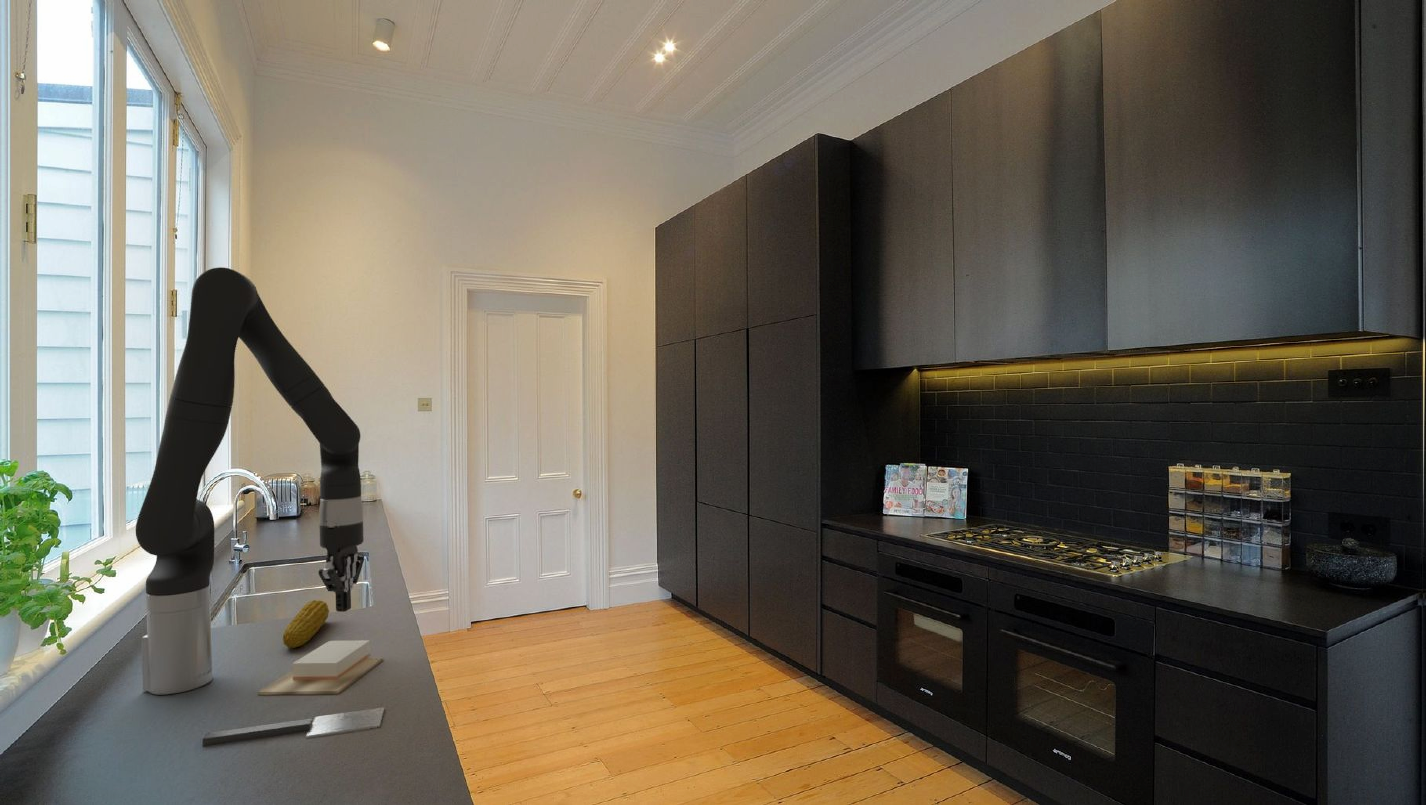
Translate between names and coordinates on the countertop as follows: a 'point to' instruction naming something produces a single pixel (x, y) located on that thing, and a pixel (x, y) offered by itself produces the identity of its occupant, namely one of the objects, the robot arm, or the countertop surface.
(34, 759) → the countertop surface
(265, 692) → the board
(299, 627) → the food
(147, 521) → the robot arm
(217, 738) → the knife with black handle
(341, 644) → the sponge
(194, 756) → the countertop surface
